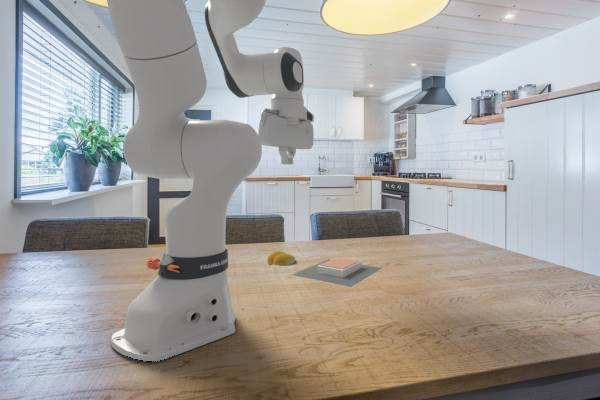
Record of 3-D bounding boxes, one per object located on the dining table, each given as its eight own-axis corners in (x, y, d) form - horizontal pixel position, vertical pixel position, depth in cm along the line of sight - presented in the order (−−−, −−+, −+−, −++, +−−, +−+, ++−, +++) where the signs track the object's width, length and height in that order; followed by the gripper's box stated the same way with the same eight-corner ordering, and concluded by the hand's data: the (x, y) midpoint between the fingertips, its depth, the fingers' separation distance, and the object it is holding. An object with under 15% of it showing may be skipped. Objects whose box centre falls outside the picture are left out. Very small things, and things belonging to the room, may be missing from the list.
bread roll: (280, 269, 108) (280, 256, 108) (263, 264, 115) (263, 251, 115) (301, 264, 114) (301, 252, 113) (283, 259, 120) (283, 247, 120)
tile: (342, 269, 97) (362, 260, 106) (317, 265, 101) (338, 256, 111) (342, 277, 97) (362, 267, 107) (317, 272, 101) (338, 263, 111)
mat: (350, 289, 90) (350, 286, 90) (292, 277, 100) (292, 274, 100) (381, 270, 106) (381, 268, 106) (328, 261, 116) (328, 259, 116)
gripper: (271, 105, 87) (271, 163, 88) (317, 116, 104) (317, 165, 105) (252, 108, 91) (252, 163, 92) (299, 118, 108) (299, 165, 108)
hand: (287, 164), depth 98 cm, fingers closed
